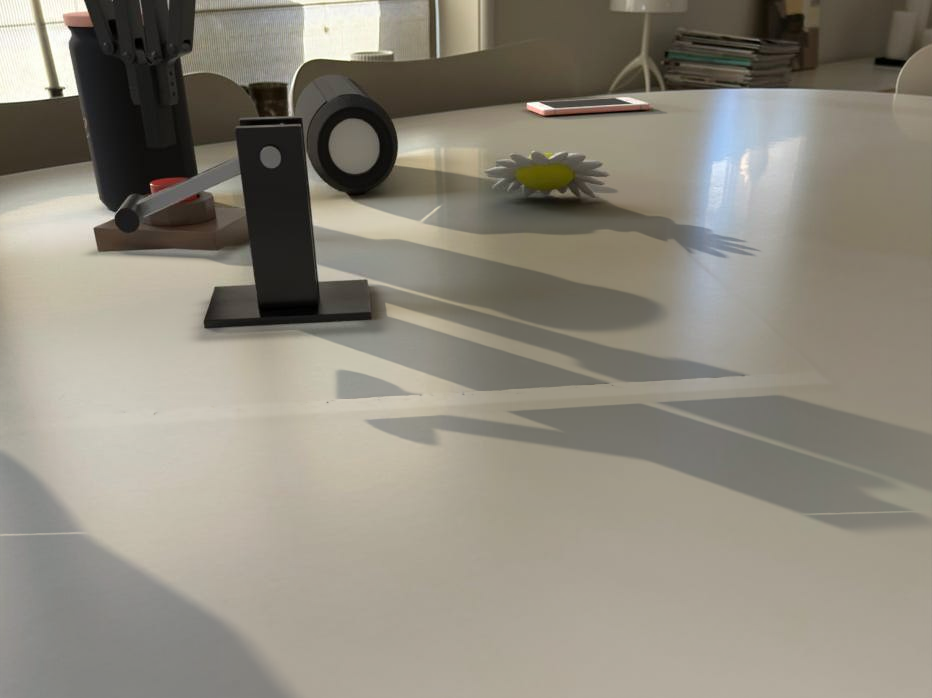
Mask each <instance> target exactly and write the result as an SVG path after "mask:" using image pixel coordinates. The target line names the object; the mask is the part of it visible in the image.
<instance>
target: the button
mask: <svg viewBox="0 0 932 698" xmlns="http://www.w3.org/2000/svg"><path fill="white" fill-rule="evenodd" d="M186 179H188V178H165V179H159V180H155V181H152V182H151V183H150V187H151V192H152V195H153V194H155V193H157V192H159V191H162V190H164V189H166V188H168V187H170V186H173V185H175V184H177V183H179V182H182V181H184V180H186ZM195 199H197V194H195V195H193V196H191V197H188V198H186V199H184V200H182V201H180V202H184V201H189V200H195Z"/></svg>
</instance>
